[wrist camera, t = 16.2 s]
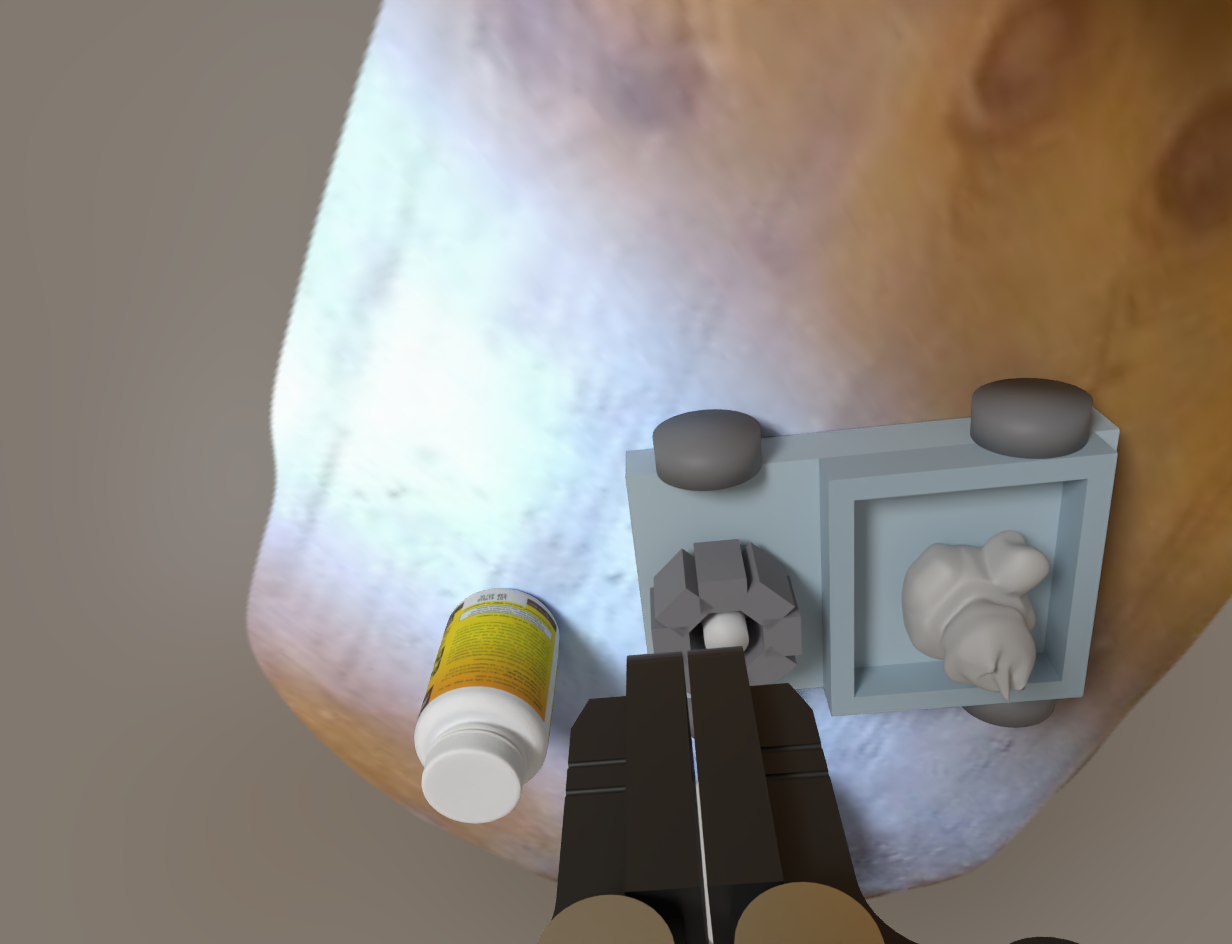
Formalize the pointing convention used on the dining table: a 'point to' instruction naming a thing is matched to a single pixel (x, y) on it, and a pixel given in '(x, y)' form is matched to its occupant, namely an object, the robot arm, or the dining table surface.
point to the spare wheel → (728, 605)
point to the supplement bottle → (488, 705)
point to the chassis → (892, 533)
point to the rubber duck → (976, 609)
